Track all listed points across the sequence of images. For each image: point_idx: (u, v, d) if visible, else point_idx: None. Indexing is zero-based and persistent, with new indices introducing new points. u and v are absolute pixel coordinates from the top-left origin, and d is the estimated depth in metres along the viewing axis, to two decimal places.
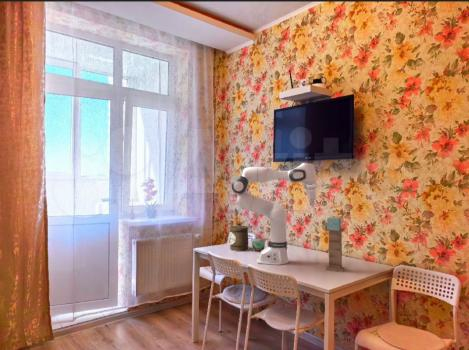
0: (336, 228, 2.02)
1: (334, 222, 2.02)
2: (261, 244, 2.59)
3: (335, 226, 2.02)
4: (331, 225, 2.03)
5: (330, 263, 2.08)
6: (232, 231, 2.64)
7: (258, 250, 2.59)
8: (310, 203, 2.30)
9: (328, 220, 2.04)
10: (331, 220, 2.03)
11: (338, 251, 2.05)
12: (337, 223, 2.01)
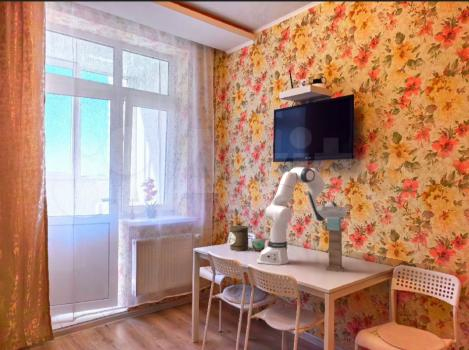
0: (336, 228, 2.02)
1: (334, 222, 2.02)
2: (261, 244, 2.59)
3: (335, 226, 2.02)
4: (331, 225, 2.03)
5: (330, 263, 2.08)
6: (232, 231, 2.64)
7: (258, 250, 2.59)
8: (324, 205, 2.32)
9: (328, 220, 2.04)
10: (331, 220, 2.03)
11: (338, 251, 2.05)
12: (337, 223, 2.01)
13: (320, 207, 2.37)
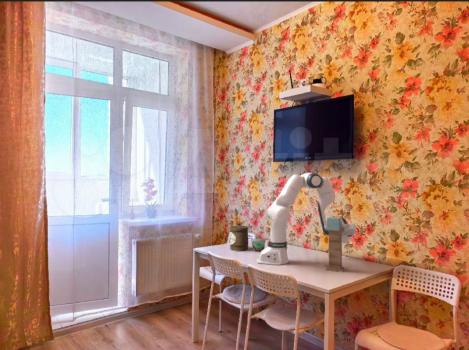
0: (336, 228, 2.02)
1: (334, 222, 2.02)
2: (261, 244, 2.59)
3: (335, 226, 2.02)
4: (331, 225, 2.03)
5: (330, 263, 2.08)
6: (232, 231, 2.64)
7: (258, 250, 2.59)
8: None
9: (328, 220, 2.04)
10: (331, 220, 2.03)
11: (338, 251, 2.05)
12: (337, 223, 2.01)
13: None
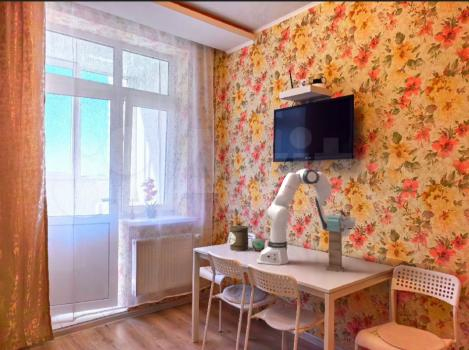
0: (336, 229, 2.02)
1: (334, 224, 2.02)
2: (261, 244, 2.59)
3: (335, 228, 2.02)
4: (331, 227, 2.03)
5: (330, 263, 2.08)
6: (232, 231, 2.64)
7: (258, 250, 2.59)
8: None
9: (328, 222, 2.03)
10: (331, 222, 2.02)
11: (338, 251, 2.05)
12: (337, 225, 2.01)
13: (327, 217, 2.24)
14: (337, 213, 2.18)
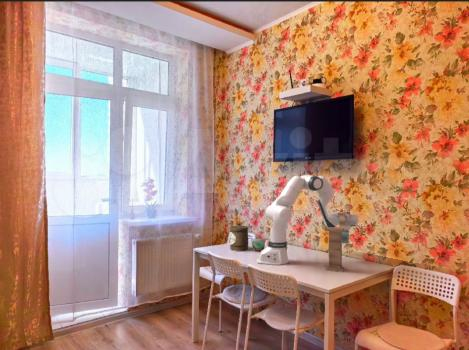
0: None
1: None
2: (261, 244, 2.59)
3: None
4: None
5: (330, 263, 2.08)
6: (232, 231, 2.64)
7: (258, 250, 2.59)
8: None
9: None
10: None
11: (338, 251, 2.05)
12: None
13: (331, 214, 2.36)
14: (341, 216, 2.29)
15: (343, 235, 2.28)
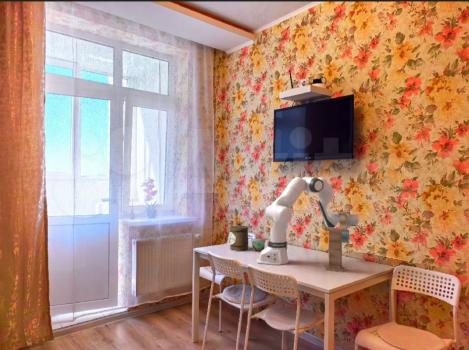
0: None
1: None
2: (261, 244, 2.59)
3: None
4: None
5: (330, 263, 2.08)
6: (232, 231, 2.64)
7: (258, 250, 2.59)
8: None
9: None
10: None
11: (338, 251, 2.05)
12: None
13: (332, 214, 2.38)
14: (341, 215, 2.32)
15: (344, 235, 2.30)
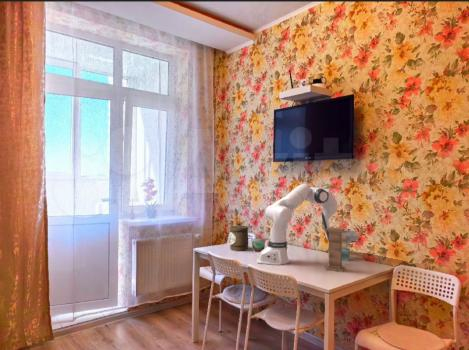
0: None
1: None
2: (261, 244, 2.59)
3: None
4: None
5: (330, 263, 2.08)
6: (232, 231, 2.64)
7: (258, 250, 2.59)
8: None
9: None
10: None
11: (338, 251, 2.05)
12: None
13: None
14: (342, 233, 2.35)
15: (344, 252, 2.31)
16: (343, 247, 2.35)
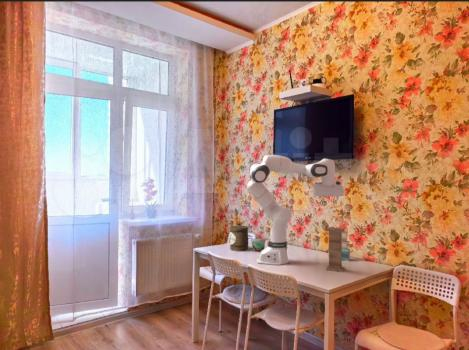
0: None
1: None
2: (261, 244, 2.59)
3: None
4: None
5: (330, 263, 2.08)
6: (232, 231, 2.64)
7: (258, 250, 2.59)
8: (322, 200, 2.24)
9: None
10: None
11: (338, 251, 2.05)
12: None
13: (317, 195, 2.25)
14: (342, 233, 2.35)
15: (344, 252, 2.31)
16: (343, 247, 2.35)
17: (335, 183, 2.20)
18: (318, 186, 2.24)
